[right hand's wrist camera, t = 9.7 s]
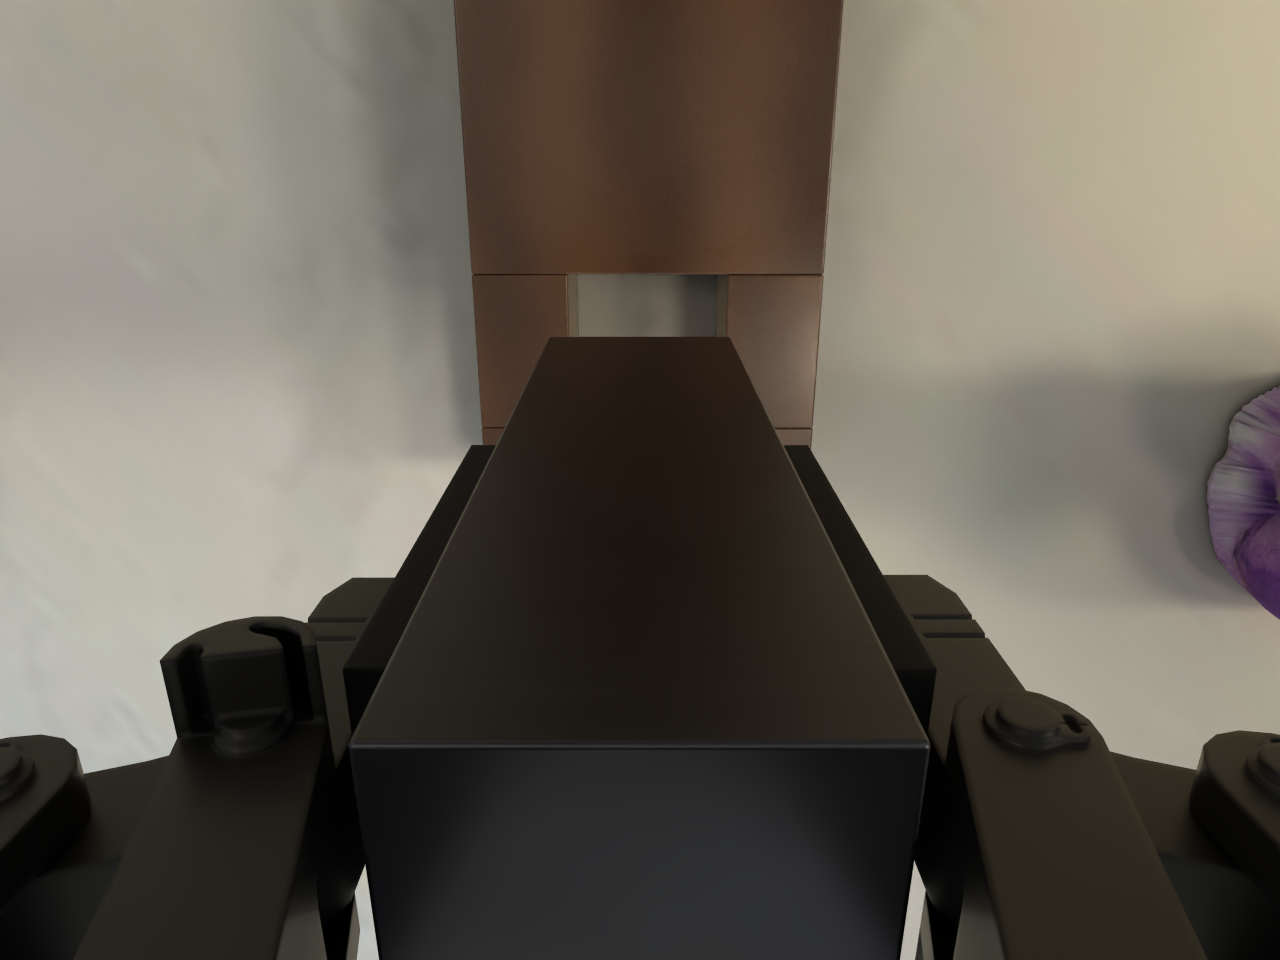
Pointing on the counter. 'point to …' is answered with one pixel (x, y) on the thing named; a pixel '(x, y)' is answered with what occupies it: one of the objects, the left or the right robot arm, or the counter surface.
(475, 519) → the peg
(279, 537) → the counter surface
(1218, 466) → the figurine
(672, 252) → the peg board
